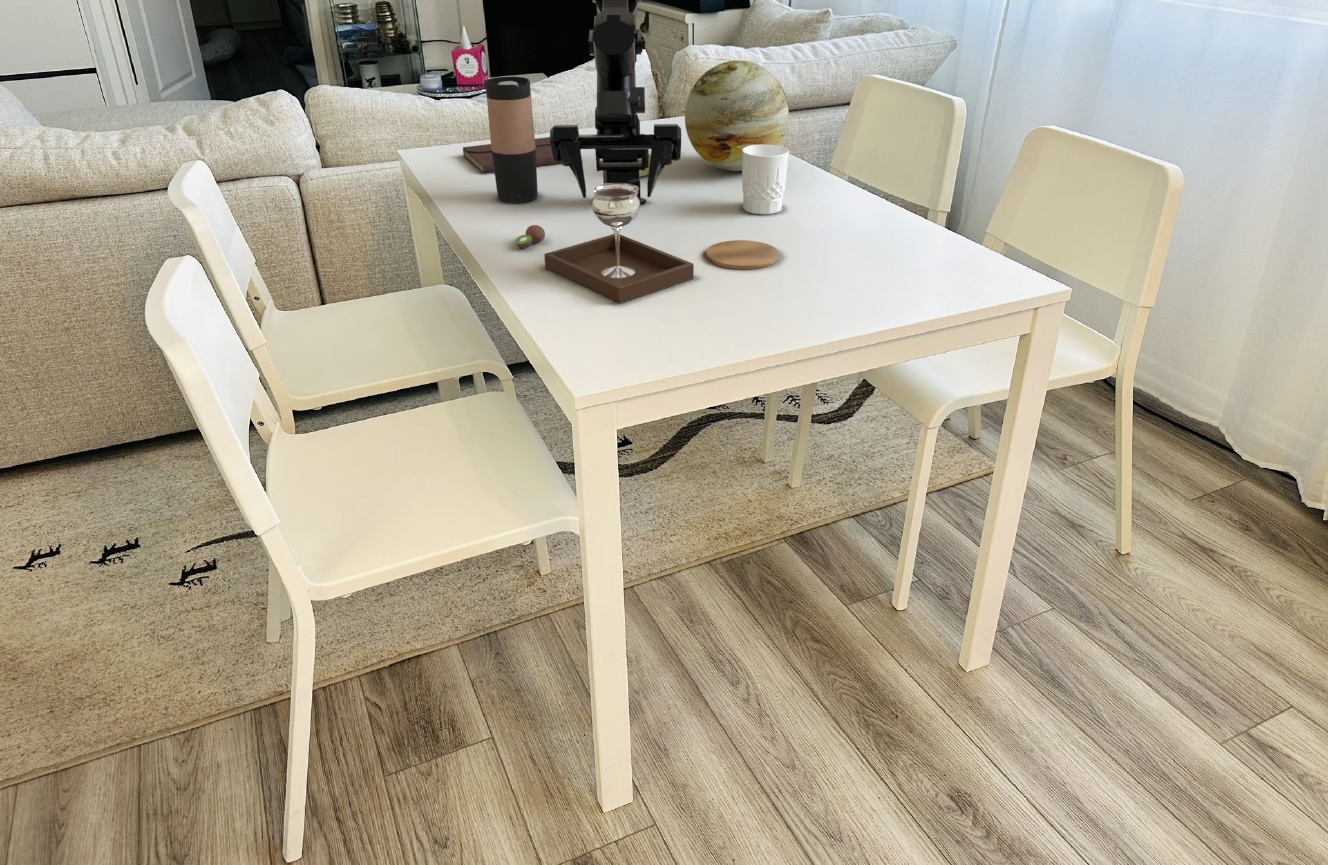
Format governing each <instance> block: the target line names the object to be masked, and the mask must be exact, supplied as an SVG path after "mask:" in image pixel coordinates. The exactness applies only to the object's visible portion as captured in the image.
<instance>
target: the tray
mask: <svg viewBox="0 0 1328 865" xmlns="http://www.w3.org/2000/svg"><path fill="white" fill-rule="evenodd" d="M543 254H544V255H543V256H544V269H545V270H547V271H550V272H552V273H554V274H556V275H558V276H560V277H562V278H564V279H566V280H569V281H570V282H572V283H574V284H577V285H579V286H581V287H583V288H585V289H587V290H590V291H592V292H594V293H595V294H597V295H600V296H602V297H604V298H606V299H608V300H610V301H612V302H614V303H616V304H619V305H620V304H624V303H627V302H630V301H633V300H636V299H639V298H641V297H644V296H647V295H650V294H654V293H656V292H659V291H662V290H664V289H668V288H670V287H674V286H678V285H680V284H683V283H686V282H688V281H691V280H692V281H693V280H694V278H695V277H694V276H695V275H694V271H695V268H694V266H695V265H694V263H693V262H690V261H688V260H685V259H683V258H681V257H677V256H676V255H673V254H671V253H668V252H666V251H663V250H661V249H657V248H655V247H652V246H651V245H648V244H645V243H643V242H640V241H638V240H636V239H633V238H630V237H628V236H625V235H623V234H620V248H619V265H623V266H629V267H632V268H633V269H635V273H634V274H633V275H631V276H629V277H624V278H611V277H607V276H604V275H603V274H602V273H601V271H602V270H603V269H604V268H606V267H610V266H616V265H617V262H616V249H615V236H614V233H613V234H609V235H605V236H601V237H599V238H595V239H591V240H588V241H584V242H581V243H577V244H574V245H570V246H566V247H563V248H560V249H556V250H552V251H549V252H545V253H543Z"/></svg>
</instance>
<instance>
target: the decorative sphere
mask: <svg viewBox="0 0 1328 865" xmlns="http://www.w3.org/2000/svg"><path fill="white" fill-rule="evenodd" d="M684 108H685V109H684V126H685V131H686V134H687V138H688V141H689V142H690V144H691V146H692V148H693V150H695V152H696V154H698V155H699V156H700V158H702V159H703V160H704V161H705V162H706V163H708V164H710V165H711V166H713V167H715V168H718V169H720V170H725V171H729V172H742V149H743V148H745V147H747V146H752V145H777V146H781V145H782V142H783V141H784V139H785V136H786V133H787V130H788V126H789V117H790V116H789V115H790V114H789V112H790V110H789V102H788V99H787V95H786V93H785V90H784V88H783V86H782V85H781V83H780V82H779V80H778V79H777V78H776V77H775V75H774V74H773V73H771V71H769V70H768V69H766V68H765V67H763V66H761V65H760V64H757V63H755V62H752V61H747V60H739V59H738V60H728V61H724V62H722V63H719V64H716V65H715V66H713V67H711V68H710V69H708V70H707V71H706V72H704V73H702V75H701V76H699V78H698V79H697V80H696V82H695V83H694V85H693V87H692V88H691V90H690V92H689V94H688V97H687V99H686V104H685V107H684Z"/></svg>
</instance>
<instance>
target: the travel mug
mask: <svg viewBox="0 0 1328 865" xmlns="http://www.w3.org/2000/svg"><path fill="white" fill-rule="evenodd" d="M531 90H532V89H531V80H530V79H529V78H527V77H523V76H497V77H493V78H488V79H487V80H485V93H486V94H485V95H486V102H487V104H486V105H487V115H488V126H489V136H490V137H489V138H490V144H491V149H492V157H493V165H494V172H493V173H494V179H495V186H496V193H497V199H498V201H500V202H502V203H505V204H525V203H530V202H533V201H535V200H536V199H538V196H539V195H538V194H539V193H538V175H537V174H538V172H537V171H538V170H537V167H536V149H535V139H536V138H535V126H534V114H533V104H532V103H533V102H532V93H531V92H532V91H531Z"/></svg>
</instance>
